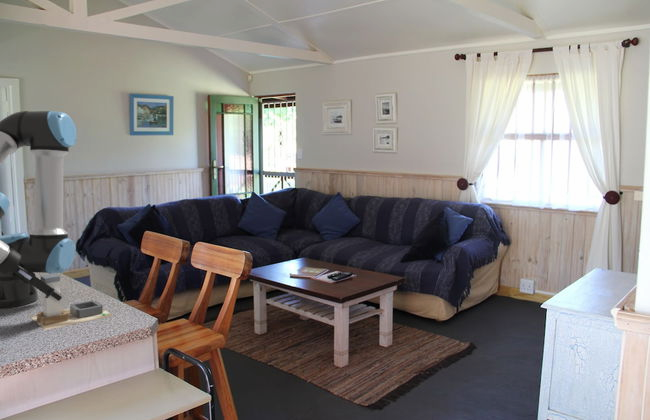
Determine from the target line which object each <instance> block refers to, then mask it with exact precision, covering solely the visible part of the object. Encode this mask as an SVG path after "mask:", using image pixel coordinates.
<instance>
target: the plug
mask: <svg viewBox="0 0 650 420" xmlns="http://www.w3.org/2000/svg"><path fill="white" fill-rule="evenodd" d="M40 280H41V281H43V282H44V283H46V284H47V285H49V286H50V287H51V288H54V289H55V290H56V291H58V292H59V293H61V284H60V283H61V276H60V275H58V273H52V274H49V273H48V274H43V275H42V274H41V275H40ZM41 295H42V298H41V299H42V300H41V301H42V310H43V311H42V312H43V315H44V317H51V316H56V315H61V314H62V312H61V309H62V306H61V305H60V304H58V303H57V302H55V301H54V300H52V299H51V298H49V297H48V298H45V296H46V294H44V293H43V292H41Z"/></svg>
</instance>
